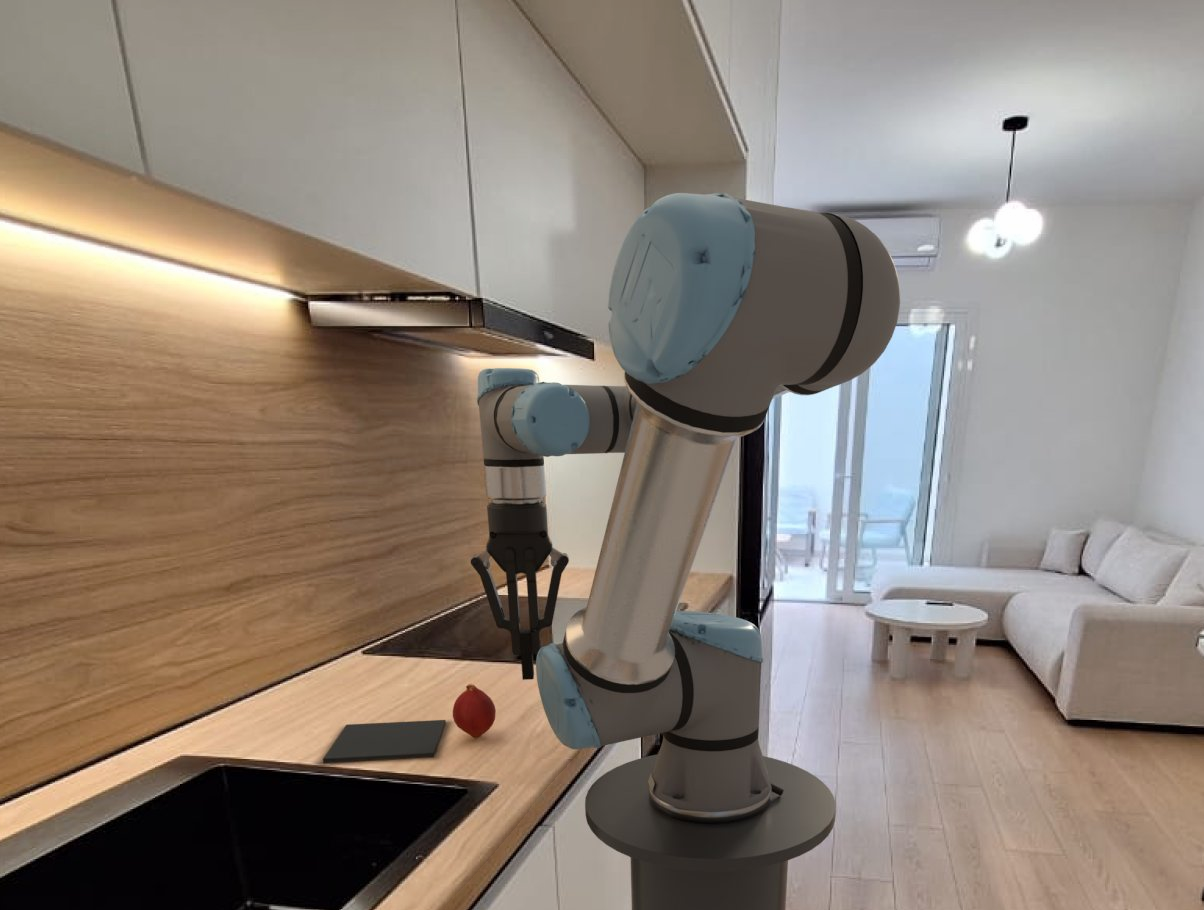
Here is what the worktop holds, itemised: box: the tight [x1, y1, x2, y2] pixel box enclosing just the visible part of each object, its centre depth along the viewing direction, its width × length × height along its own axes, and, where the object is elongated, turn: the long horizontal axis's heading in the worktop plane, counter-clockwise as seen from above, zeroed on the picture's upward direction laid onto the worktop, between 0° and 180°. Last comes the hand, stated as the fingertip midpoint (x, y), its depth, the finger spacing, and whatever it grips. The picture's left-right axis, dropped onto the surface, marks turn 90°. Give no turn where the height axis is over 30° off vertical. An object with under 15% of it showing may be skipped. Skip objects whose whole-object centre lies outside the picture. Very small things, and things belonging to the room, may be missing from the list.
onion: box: [452, 683, 497, 739], centre depth 113 cm, size 6×6×8 cm
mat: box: [322, 719, 447, 764], centre depth 112 cm, size 14×13×1 cm
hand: (528, 676), depth 112 cm, fingers closed
